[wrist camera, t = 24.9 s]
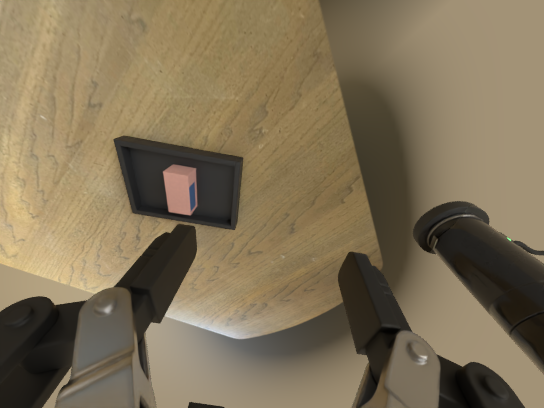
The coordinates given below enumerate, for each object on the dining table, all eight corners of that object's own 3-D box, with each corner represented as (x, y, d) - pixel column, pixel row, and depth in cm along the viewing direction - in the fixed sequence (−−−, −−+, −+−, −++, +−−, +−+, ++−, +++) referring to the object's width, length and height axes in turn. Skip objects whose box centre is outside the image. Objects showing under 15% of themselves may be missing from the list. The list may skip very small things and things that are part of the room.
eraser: (196, 168, 30) (188, 175, 27) (198, 205, 34) (190, 215, 31) (172, 163, 30) (162, 171, 27) (176, 202, 33) (168, 212, 31)
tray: (243, 157, 29) (240, 162, 27) (237, 222, 36) (234, 230, 34) (123, 135, 28) (113, 139, 27) (140, 206, 35) (132, 213, 33)
